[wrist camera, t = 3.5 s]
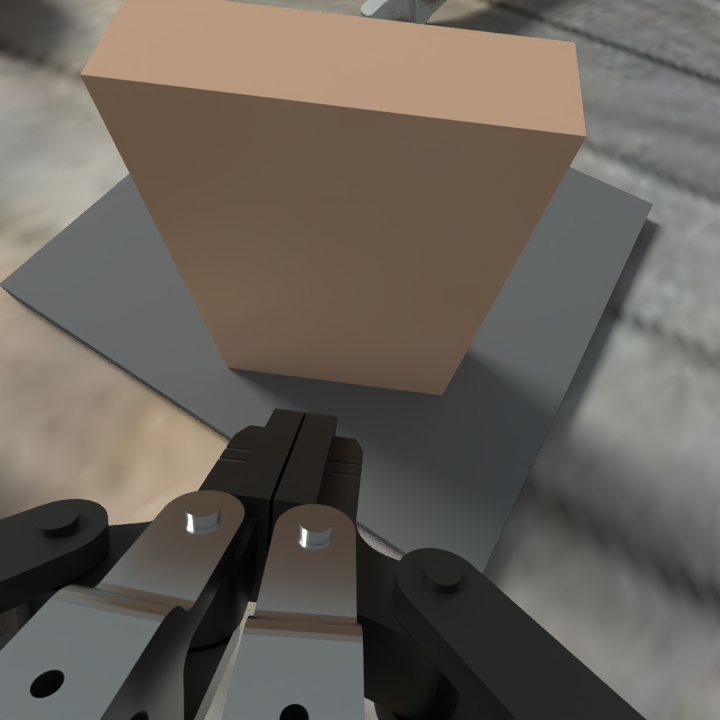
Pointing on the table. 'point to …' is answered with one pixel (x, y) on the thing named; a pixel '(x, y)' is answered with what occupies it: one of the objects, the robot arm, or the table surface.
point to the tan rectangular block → (337, 175)
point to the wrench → (401, 10)
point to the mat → (359, 402)
